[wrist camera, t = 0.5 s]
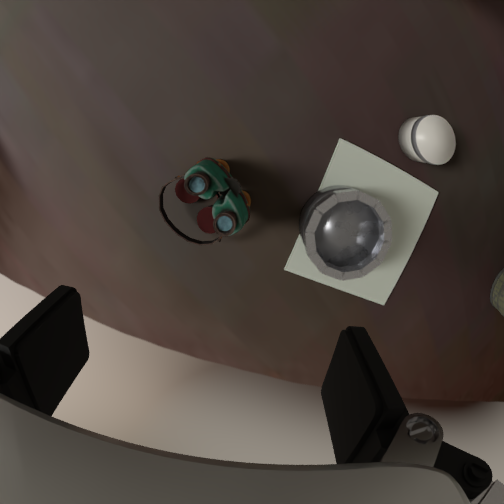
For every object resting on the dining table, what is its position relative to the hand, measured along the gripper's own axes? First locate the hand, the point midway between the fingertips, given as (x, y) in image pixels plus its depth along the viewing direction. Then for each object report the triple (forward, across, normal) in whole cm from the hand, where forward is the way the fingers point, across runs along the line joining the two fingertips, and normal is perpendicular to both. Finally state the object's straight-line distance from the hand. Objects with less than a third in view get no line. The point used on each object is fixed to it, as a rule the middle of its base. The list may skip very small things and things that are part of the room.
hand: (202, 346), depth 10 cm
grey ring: (+28, -12, +1) cm, 31 cm away
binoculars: (+29, +4, 0) cm, 29 cm away
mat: (+29, -16, +1) cm, 33 cm away
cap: (+29, -22, -12) cm, 38 cm away
